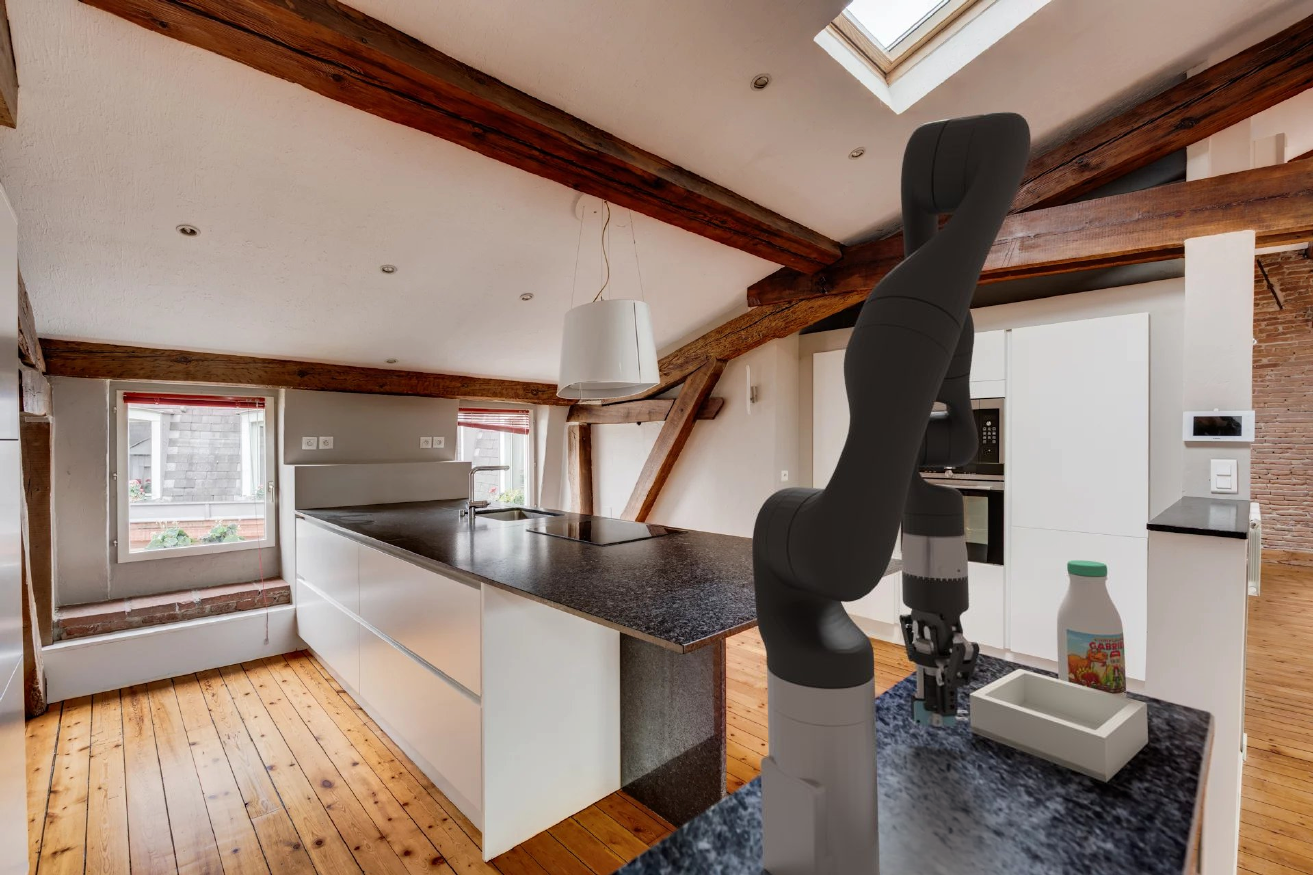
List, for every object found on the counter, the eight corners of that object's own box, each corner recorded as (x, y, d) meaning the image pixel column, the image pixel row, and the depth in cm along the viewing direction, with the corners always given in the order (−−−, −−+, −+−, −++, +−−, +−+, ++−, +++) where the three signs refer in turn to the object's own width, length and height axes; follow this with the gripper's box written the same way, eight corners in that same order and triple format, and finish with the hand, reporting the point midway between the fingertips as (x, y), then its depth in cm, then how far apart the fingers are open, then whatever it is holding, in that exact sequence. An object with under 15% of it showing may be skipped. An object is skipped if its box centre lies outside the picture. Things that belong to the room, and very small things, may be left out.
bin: (1106, 782, 62) (1104, 737, 63) (970, 731, 74) (969, 694, 74) (1148, 742, 71) (1146, 702, 71) (1020, 702, 82) (1019, 668, 83)
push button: (960, 714, 73) (957, 635, 74) (976, 734, 68) (973, 649, 68) (905, 711, 74) (903, 633, 75) (916, 730, 69) (914, 647, 70)
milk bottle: (1047, 697, 84) (1042, 560, 84) (1078, 688, 87) (1073, 555, 88) (1107, 719, 77) (1101, 569, 77) (1138, 708, 80) (1133, 564, 81)
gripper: (1001, 580, 66) (1005, 733, 65) (930, 558, 80) (933, 684, 79) (939, 582, 65) (943, 737, 64) (878, 560, 79) (881, 687, 78)
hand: (937, 707), depth 72 cm, fingers closed on push button, 3 cm apart
